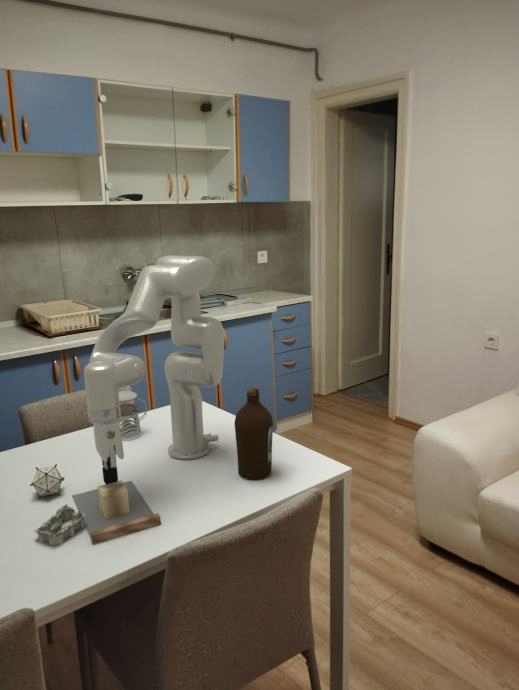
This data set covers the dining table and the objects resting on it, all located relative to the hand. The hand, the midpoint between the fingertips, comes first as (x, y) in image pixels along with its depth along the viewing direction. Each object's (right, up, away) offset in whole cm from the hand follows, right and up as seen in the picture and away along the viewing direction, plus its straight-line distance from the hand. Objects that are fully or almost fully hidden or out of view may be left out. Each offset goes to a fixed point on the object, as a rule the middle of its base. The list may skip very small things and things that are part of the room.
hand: (110, 481), depth 139 cm
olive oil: (+36, -2, +19) cm, 41 cm away
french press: (-6, +4, +47) cm, 48 cm away
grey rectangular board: (0, -7, +2) cm, 8 cm away
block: (-1, -4, +3) cm, 5 cm away
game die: (-19, -6, +10) cm, 22 cm away
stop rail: (+6, -10, -9) cm, 15 cm away
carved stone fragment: (-9, -10, -8) cm, 16 cm away
